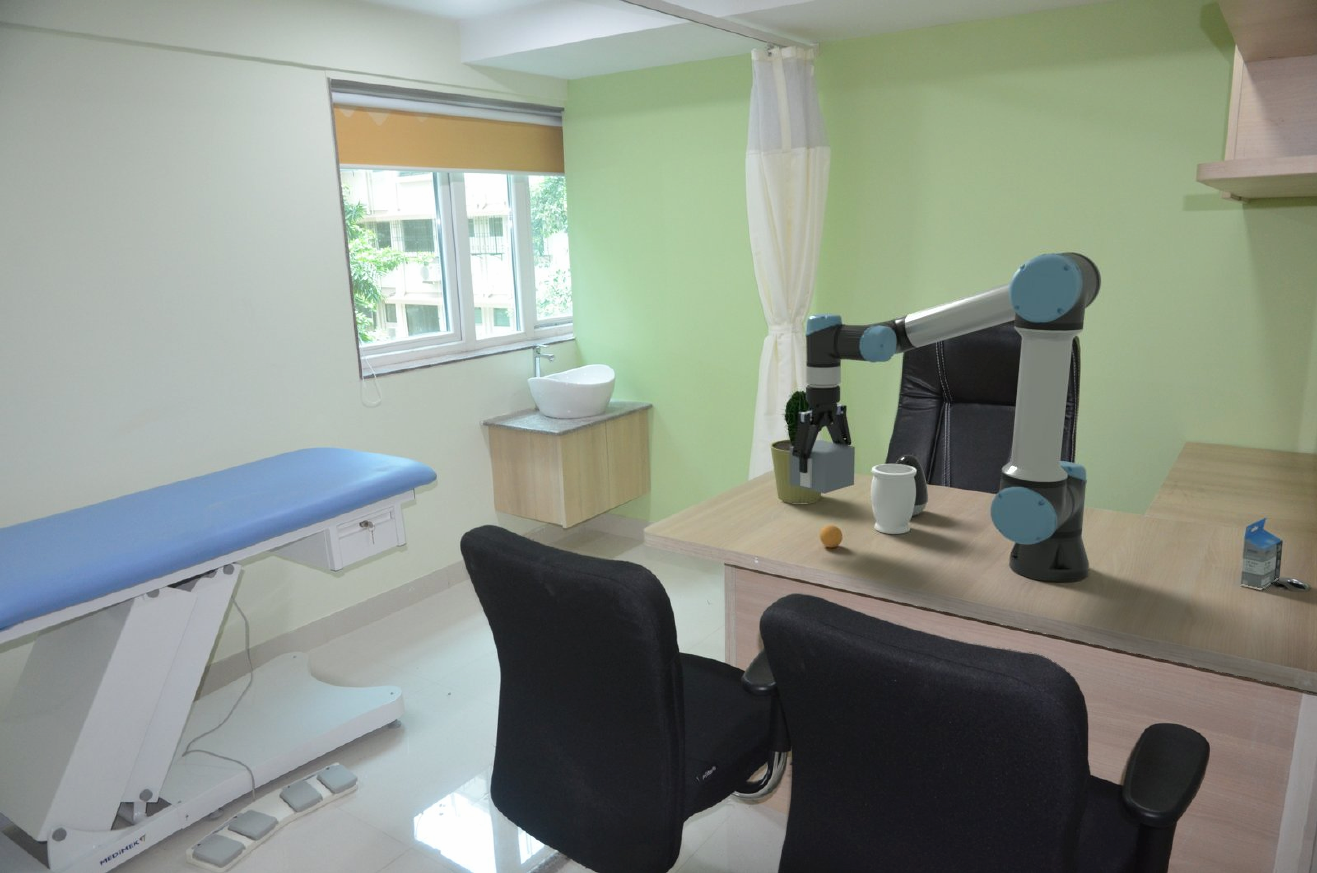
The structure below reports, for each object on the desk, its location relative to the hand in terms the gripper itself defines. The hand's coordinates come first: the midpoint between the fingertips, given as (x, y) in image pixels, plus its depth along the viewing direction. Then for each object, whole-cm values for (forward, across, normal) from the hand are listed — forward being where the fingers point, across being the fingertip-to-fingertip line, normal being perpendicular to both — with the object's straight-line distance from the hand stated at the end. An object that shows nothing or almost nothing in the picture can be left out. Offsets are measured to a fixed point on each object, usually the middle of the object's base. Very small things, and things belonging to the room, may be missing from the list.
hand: (822, 481), depth 200 cm
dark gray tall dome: (+15, -33, 0) cm, 36 cm away
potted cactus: (+15, -24, -28) cm, 40 cm away
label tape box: (+15, -43, +74) cm, 87 cm away
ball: (+12, 0, +3) cm, 13 cm away
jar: (+15, -20, +5) cm, 25 cm away
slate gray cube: (+1, 0, 0) cm, 1 cm away
